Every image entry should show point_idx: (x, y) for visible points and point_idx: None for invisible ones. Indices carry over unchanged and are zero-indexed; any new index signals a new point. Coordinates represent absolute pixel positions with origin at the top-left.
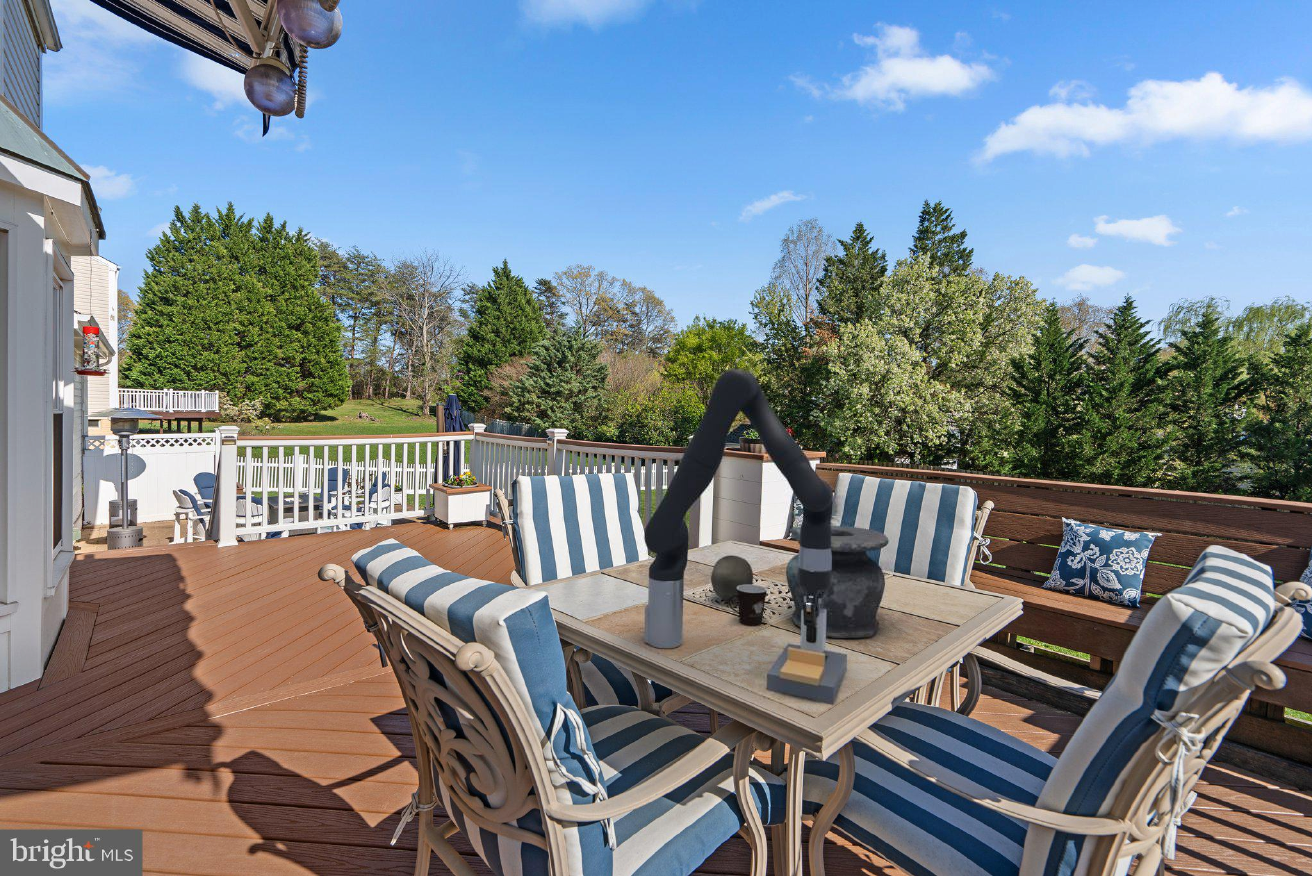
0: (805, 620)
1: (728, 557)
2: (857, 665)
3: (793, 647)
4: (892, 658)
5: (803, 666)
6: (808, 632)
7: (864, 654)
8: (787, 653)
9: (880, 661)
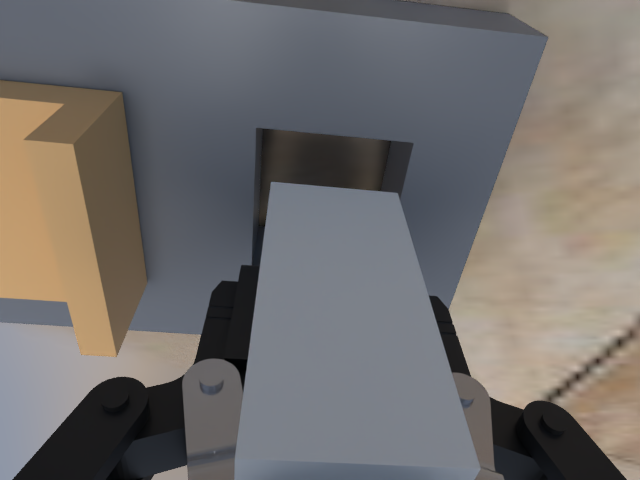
0: (53, 450)
1: None
2: (473, 328)
3: (468, 87)
4: (570, 413)
5: (31, 213)
6: (204, 336)
7: (604, 346)
8: (329, 58)
9: (534, 387)
